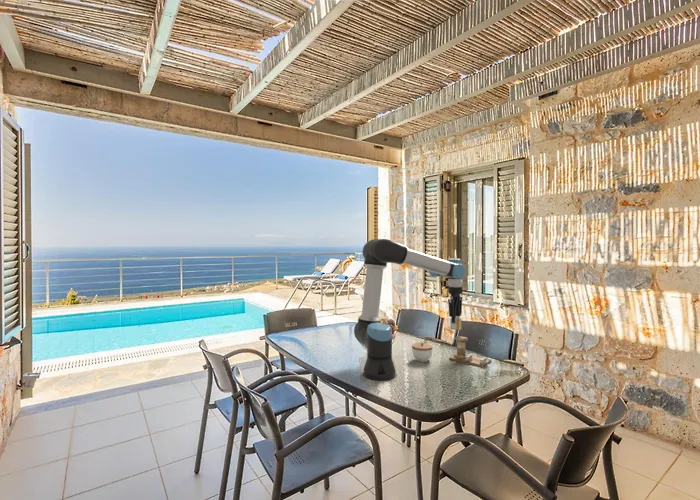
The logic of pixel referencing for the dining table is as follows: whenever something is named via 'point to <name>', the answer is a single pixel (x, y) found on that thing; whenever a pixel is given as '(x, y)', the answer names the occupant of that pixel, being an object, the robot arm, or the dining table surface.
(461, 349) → the bobbin
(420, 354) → the lidded jar
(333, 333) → the dining table surface
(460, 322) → the tab
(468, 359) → the board
